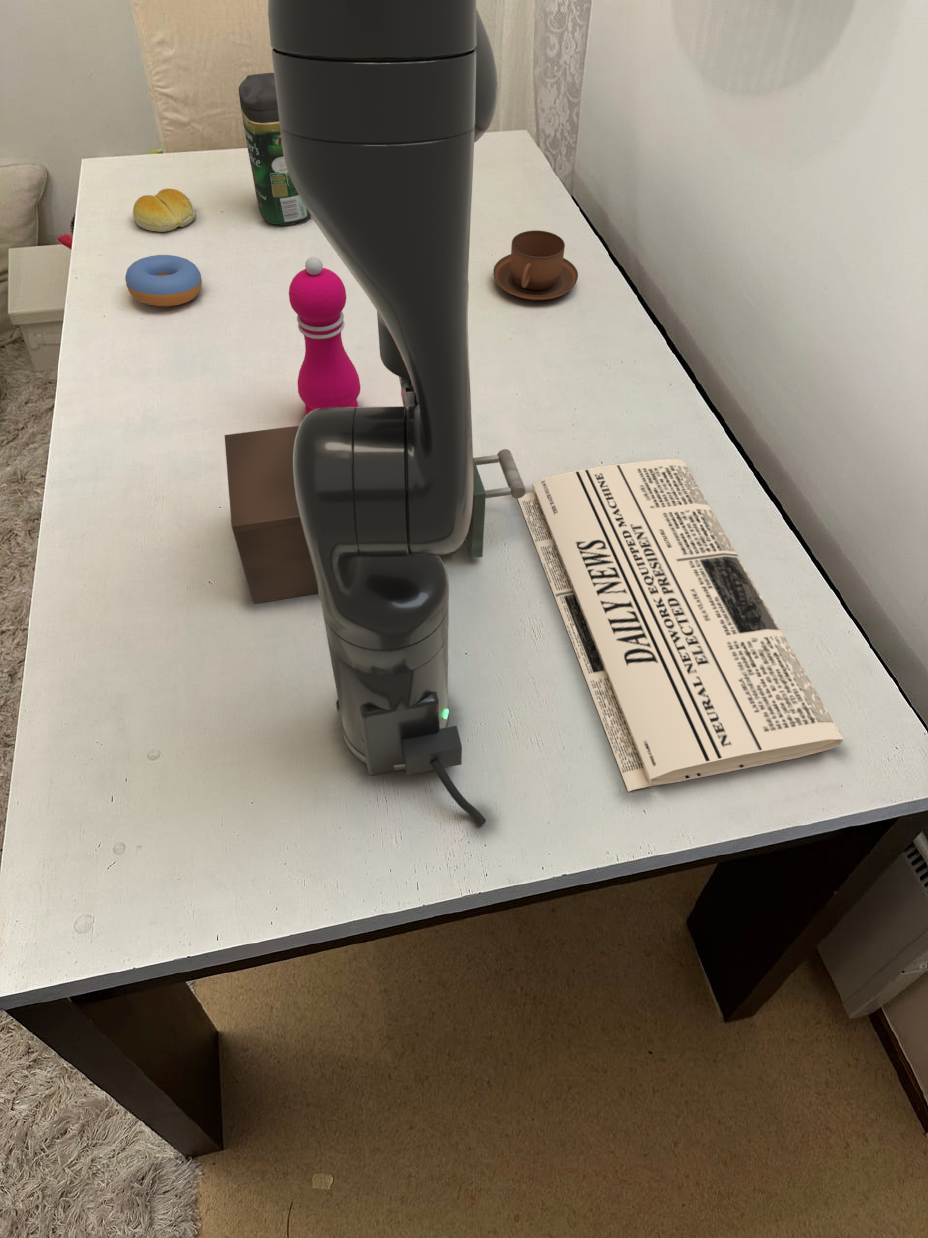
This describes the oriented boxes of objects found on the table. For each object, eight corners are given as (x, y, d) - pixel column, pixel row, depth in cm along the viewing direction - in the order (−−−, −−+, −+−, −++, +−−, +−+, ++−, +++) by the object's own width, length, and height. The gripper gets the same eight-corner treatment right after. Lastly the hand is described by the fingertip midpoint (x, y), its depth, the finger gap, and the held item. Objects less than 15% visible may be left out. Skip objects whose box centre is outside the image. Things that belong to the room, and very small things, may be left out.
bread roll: (127, 217, 131) (120, 191, 128) (182, 202, 134) (176, 176, 131) (148, 239, 127) (141, 213, 123) (204, 223, 130) (198, 197, 127)
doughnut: (188, 269, 121) (181, 238, 118) (216, 302, 116) (208, 270, 113) (121, 289, 118) (111, 257, 114) (146, 323, 113) (136, 291, 109)
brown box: (380, 495, 93) (374, 415, 85) (400, 580, 85) (396, 502, 77) (244, 514, 91) (224, 434, 82) (252, 603, 83) (231, 526, 75)
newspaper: (836, 750, 74) (848, 733, 72) (628, 792, 71) (633, 776, 69) (680, 473, 96) (685, 454, 94) (516, 496, 93) (518, 477, 91)
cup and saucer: (579, 309, 117) (584, 267, 112) (492, 306, 117) (494, 264, 112) (573, 264, 124) (579, 223, 120) (492, 262, 124) (494, 220, 120)
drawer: (501, 475, 94) (506, 410, 87) (529, 550, 87) (536, 485, 80) (335, 498, 91) (326, 433, 84) (350, 577, 84) (342, 513, 77)
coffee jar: (253, 202, 134) (230, 70, 120) (302, 195, 136) (285, 64, 122) (266, 230, 129) (244, 96, 114) (316, 223, 131) (301, 89, 116)
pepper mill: (353, 440, 99) (336, 280, 83) (294, 431, 100) (266, 271, 84) (370, 402, 103) (357, 244, 88) (313, 394, 104) (290, 236, 88)
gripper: (364, 268, 73) (376, 426, 87) (392, 363, 64) (400, 523, 78) (448, 260, 74) (447, 417, 88) (487, 352, 66) (479, 511, 79)
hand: (425, 466), depth 83 cm, fingers closed on pill bottle, 4 cm apart
